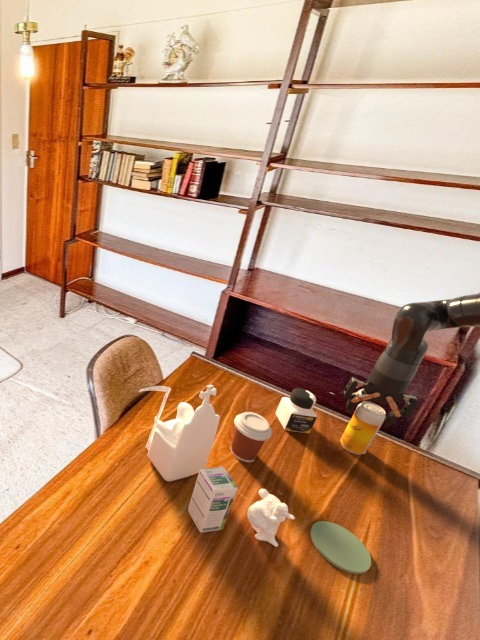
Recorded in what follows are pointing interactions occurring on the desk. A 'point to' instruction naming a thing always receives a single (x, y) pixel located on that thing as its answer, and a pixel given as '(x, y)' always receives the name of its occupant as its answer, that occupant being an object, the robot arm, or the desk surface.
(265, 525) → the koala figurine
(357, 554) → the coaster
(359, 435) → the beer can
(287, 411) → the medicine bottle
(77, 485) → the desk surface
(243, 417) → the coffee cup
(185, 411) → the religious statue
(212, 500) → the syrup box
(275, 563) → the desk surface
